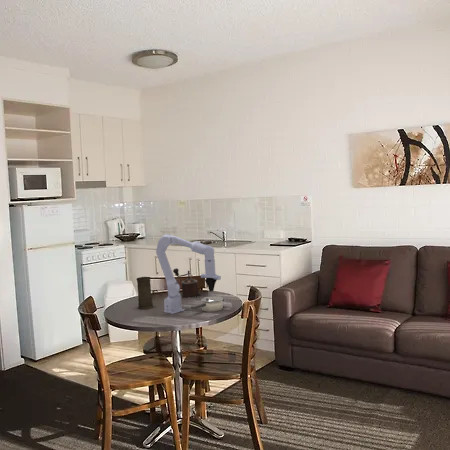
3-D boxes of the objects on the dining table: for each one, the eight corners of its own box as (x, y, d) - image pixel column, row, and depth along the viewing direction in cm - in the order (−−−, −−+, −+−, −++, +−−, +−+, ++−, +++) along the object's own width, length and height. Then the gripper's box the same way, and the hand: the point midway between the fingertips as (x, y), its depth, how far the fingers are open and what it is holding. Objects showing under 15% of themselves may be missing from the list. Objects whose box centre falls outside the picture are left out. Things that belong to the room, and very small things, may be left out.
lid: (196, 301, 280) (196, 298, 280) (212, 296, 289) (212, 293, 289) (211, 303, 272) (211, 300, 272) (227, 298, 280) (227, 295, 280)
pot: (200, 316, 266) (199, 307, 266) (185, 313, 275) (185, 304, 274) (230, 307, 282) (229, 298, 282) (215, 304, 291) (214, 296, 291)
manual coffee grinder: (198, 293, 326) (196, 266, 324) (198, 296, 315) (196, 269, 313) (174, 295, 325) (172, 268, 323) (174, 298, 314) (172, 270, 312)
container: (150, 309, 289) (148, 279, 288) (135, 309, 291) (133, 279, 289) (155, 305, 298) (153, 276, 296) (141, 305, 300) (139, 276, 298)
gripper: (224, 267, 276) (225, 291, 277) (206, 265, 287) (207, 288, 288) (215, 269, 271) (216, 293, 273) (197, 267, 282) (198, 290, 283)
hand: (211, 291), depth 280 cm, fingers closed
